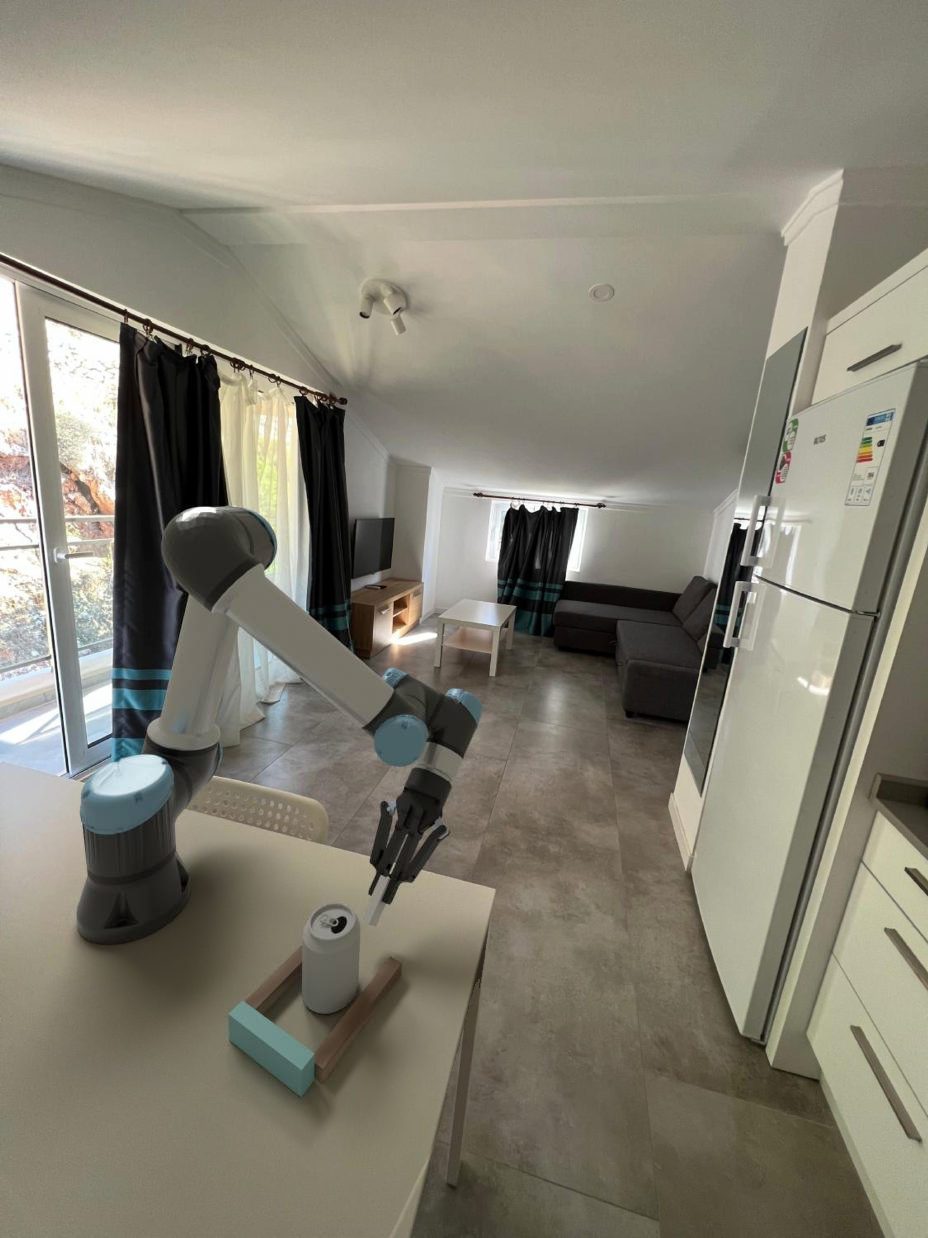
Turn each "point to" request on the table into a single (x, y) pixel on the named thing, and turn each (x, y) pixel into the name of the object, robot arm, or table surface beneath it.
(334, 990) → the can
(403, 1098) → the table surface
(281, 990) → the chute
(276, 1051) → the bar
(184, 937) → the table surface
